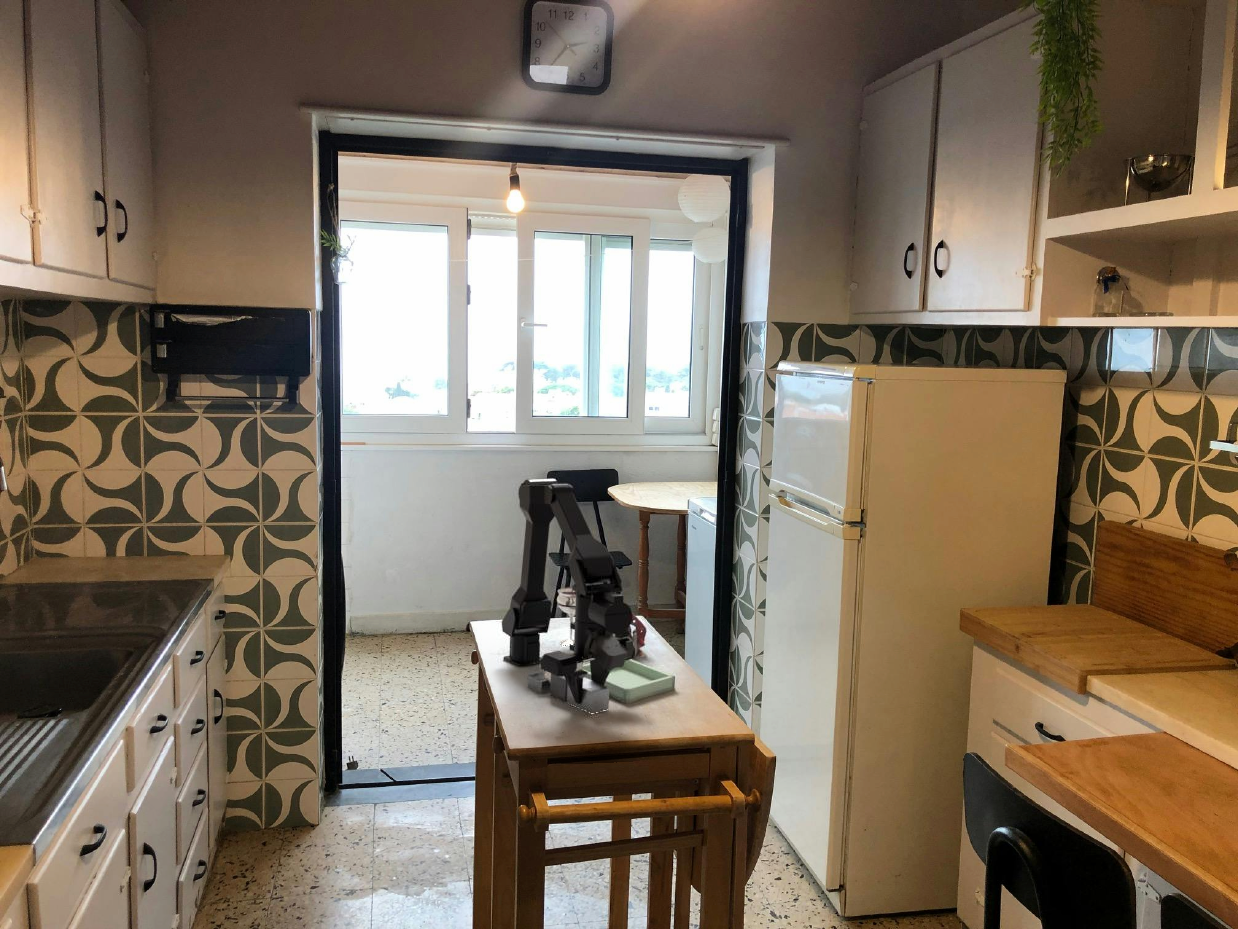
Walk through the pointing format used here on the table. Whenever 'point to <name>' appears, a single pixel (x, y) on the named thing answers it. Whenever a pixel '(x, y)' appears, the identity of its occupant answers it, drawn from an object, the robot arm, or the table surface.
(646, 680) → the tray
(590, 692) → the strut
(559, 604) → the wineglass
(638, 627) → the brake caliper
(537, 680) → the stud mount
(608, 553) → the robot arm
